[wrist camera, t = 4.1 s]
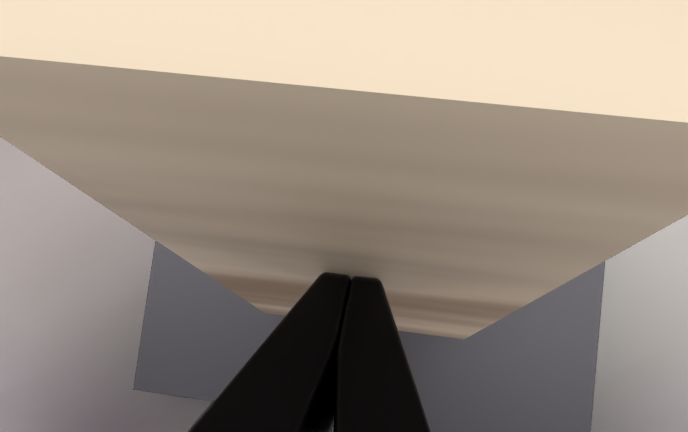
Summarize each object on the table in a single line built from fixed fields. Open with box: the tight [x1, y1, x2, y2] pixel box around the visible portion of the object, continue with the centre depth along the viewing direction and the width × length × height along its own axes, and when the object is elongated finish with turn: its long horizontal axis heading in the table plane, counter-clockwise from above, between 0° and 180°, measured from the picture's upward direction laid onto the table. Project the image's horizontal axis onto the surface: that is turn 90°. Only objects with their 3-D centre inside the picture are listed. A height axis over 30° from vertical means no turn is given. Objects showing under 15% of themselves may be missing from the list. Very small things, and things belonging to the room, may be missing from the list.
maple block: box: [0, 0, 688, 339], centre depth 9 cm, size 5×5×12 cm
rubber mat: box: [133, 241, 605, 432], centre depth 16 cm, size 16×12×1 cm
